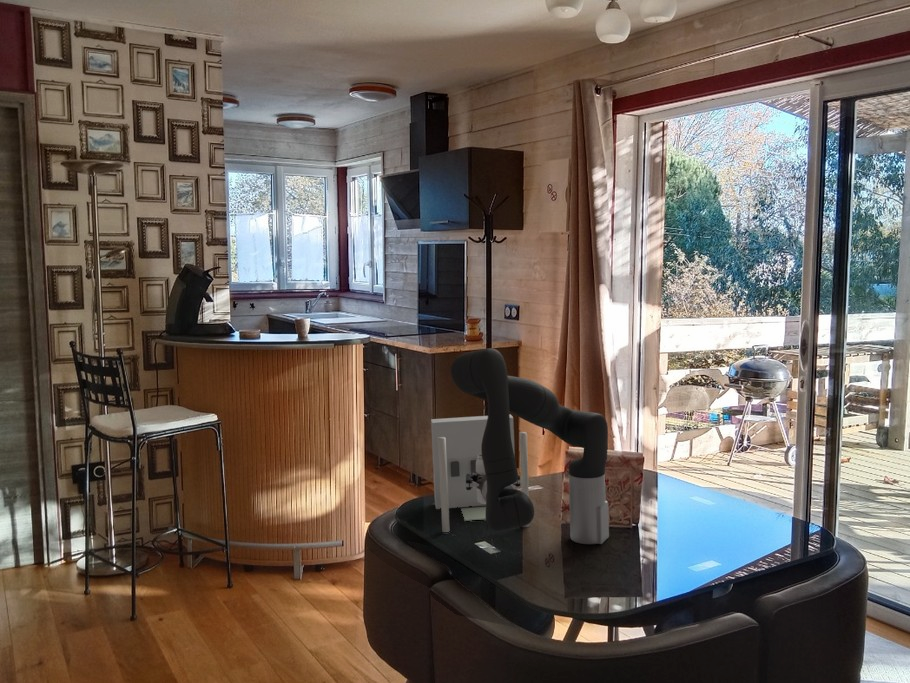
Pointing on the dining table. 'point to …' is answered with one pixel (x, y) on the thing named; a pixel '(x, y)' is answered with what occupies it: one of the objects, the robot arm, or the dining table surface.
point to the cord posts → (445, 483)
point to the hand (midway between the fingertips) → (487, 472)
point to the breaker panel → (459, 456)
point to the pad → (474, 513)
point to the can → (479, 470)
